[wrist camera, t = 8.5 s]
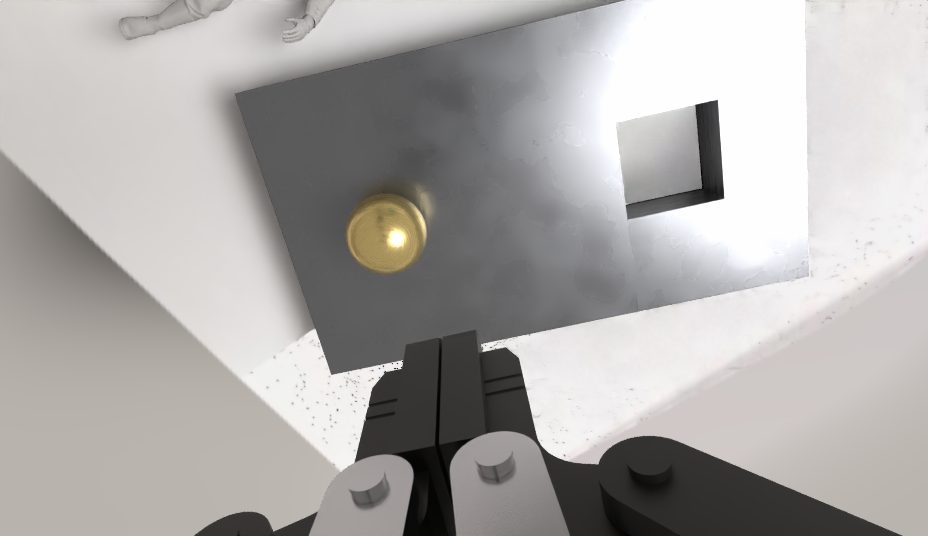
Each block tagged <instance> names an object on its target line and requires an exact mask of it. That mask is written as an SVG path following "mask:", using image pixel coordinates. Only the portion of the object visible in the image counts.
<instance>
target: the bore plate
mask: <svg viewBox="0 0 928 536" xmlns="http://www.w3.org/2000/svg"><path fill="white" fill-rule="evenodd" d="M235 96H236V99H237V102H238V105H239V108H240V111H241V114H242V116H243V119H244V122H245V125H246V128H247V131H248V134H249V137H250V140H251V143H252V145H253V148H254V151H255V154H256V157H257V160H258V163H259V166H260V169H261V172H262V175H263V177H264V180H265V183H266V186H267V189H268V192H269V195H270V198H271V201H272V204H273V206H274V209H275V212H276V215H277V218H278V221H279V224H280V227H281V230H282V233H283V235H284V238H285V241H286V244H287V247H288V250H289V253H290V256H291V259H292V262H293V265H294V267H295V270H296V273H297V276H298V279H299V282H300V285H301V288H302V291H303V294H304V296H305V299H306V302H307V305H308V308H309V311H310V314H311V317H312V320H313V323H314V325H315V328H316V331H317V334H318V337H319V340H320V343H321V346H322V349H323V352H324V355H325V357H326V360H327V363H328V366H329V369H330V372H331V375H333V374H338V373H343V372H347V371H352V370H357V369H362V368H367V367H372V366H376V365H381V364H386V363H391V362H396V361H401V360H404V354H405V347H406V344H410V343H415V342H420V341H424V340H429V339H434V338H439V337H441V339H442V338H443V336H448V335H453V334H458V333H462V332H467V331H472V330H477V332H478V335H479V339H480V343H481V344H483V343H488V342H493V341H498V340H502V339H507V338H512V337H517V336H522V335H527V334H531V333H536V332H541V331H546V330H551V329H556V328H561V327H565V326H570V325H575V324H580V323H585V322H590V321H594V320H599V319H604V318H609V317H614V316H619V315H623V314H628V313H633V312H638V311H643V310H648V309H653V308H657V307H662V306H667V305H672V304H677V303H682V302H686V301H691V300H696V299H701V298H706V297H711V296H716V295H720V294H725V293H730V292H735V291H740V290H745V289H749V288H754V287H759V286H764V285H769V284H774V283H778V282H783V281H788V280H793V279H798V278H803V277H808V276H809V269H808V204H807V139H806V74H805V10H804V0H624V1H620V2H616V3H612V4H608V5H603V6H599V7H595V8H591V9H587V10H583V11H578V12H574V13H570V14H566V15H562V16H557V17H553V18H549V19H545V20H541V21H537V22H532V23H528V24H524V25H520V26H516V27H511V28H507V29H503V30H499V31H495V32H491V33H486V34H482V35H478V36H474V37H470V38H465V39H461V40H457V41H453V42H449V43H445V44H440V45H436V46H432V47H428V48H424V49H419V50H415V51H411V52H407V53H403V54H399V55H394V56H390V57H386V58H382V59H378V60H373V61H369V62H365V63H361V64H357V65H353V66H348V67H344V68H340V69H336V70H332V71H327V72H323V73H319V74H315V75H311V76H307V77H302V78H298V79H294V80H290V81H286V82H281V83H277V84H273V85H269V86H265V87H261V88H256V89H252V90H248V91H244V92H240V93H235ZM691 105H695V106H696V119H697V132H698V144H699V157H700V169H701V182H702V188H700V189H696V190H691V191H686V192H682V193H677V194H673V195H668V196H663V197H659V198H654V199H650V200H645V201H640V202H636V203H631V204H627V205H626V204H625V196H624V188H623V180H622V172H621V165H620V157H619V149H618V141H617V133H616V125H615V123H616V122H620V121H624V120H629V119H633V118H638V117H642V116H646V115H651V114H655V113H660V112H664V111H669V110H673V109H677V108H682V107H686V106H691ZM387 193H388V194H395V195H399V196H401V197H404V198H406V199H407V200H409V201H410V202H412V203H413V204H414V205H415V206H416V207H417V208H418V210H419V211H420V212H421V214H422V216H423V218H424V220H425V223H426V228H427V241H426V245H425V248H424V251H423V253H422V254H421V256H420V258H419V259H418V260H417V261H416V262H415V263H414V264H413V265H412V266H411V267H409V268H408V269H406V270H404V271H402V272H399V273H396V274H386V275H385V274H377V273H374V272H371V271H369V270H367V269H365V268H363V267H362V266H361V265H360V264H358V263H357V262H356V260H355V259H354V258H353V257H352V255H351V253H350V252H349V249H348V247H347V243H346V237H345V229H346V224H347V221H348V218H349V216H350V214H351V212H352V211H353V209H354V208H355V207H356V206H357V205H358V204H359V203H360V202H362V201H363V200H364V199H366V198H368V197H370V196H373V195H376V194H387Z"/></svg>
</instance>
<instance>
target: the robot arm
mask: <svg viewBox="0 0 928 536" xmlns="http://www.w3.org/2000/svg"><path fill="white" fill-rule="evenodd" d="M365 418H366V421H365V422H364V426H363V430H362V434H361V438H360V442H359V446H358V451H357V455H356V459H355V463H354V464H352V465H350V466H348V467H347V468H346V469H344V470H343V471H342V472H340V473H339V474H338V475H337V476H336V478H334V479H333V481H332V482H331V483H330V485H329V486H328V488H327V490H326V492H325V495H324V498H323V500H322V503H321V505H320V508H319V510H318V512H316V513H314V514H312V515H310V516H308V517H306V518H304V519H302V520H299V521H297V522H295V523H292V524H290V525H288V526H286V527H283V528H281V529H279V530H277V531H274V532H273V529H272V527H271V525H270V523H269V521H268V519H267V518H266V517H265V516H263V515H262V514H259V513H256V512H241V513H236V514H232V515H229V516H226V517H224V518H222V519H219V520H217V521H216V522H214V523H212V524H210V525H208V526H207V527H205V528H204V529H202V530H201V531H200V532H198V533H197V534H196V535H195V536H902V535H899V534H897V533H894V532H892V531H890V530H887V529H885V528H883V527H880V526H878V525H875V524H873V523H871V522H868V521H866V520H864V519H861V518H859V517H856V516H854V515H852V514H849V513H847V512H845V511H842V510H840V509H837V508H835V507H833V506H830V505H828V504H825V503H823V502H821V501H818V500H816V499H814V498H811V497H809V496H807V495H804V494H801V493H799V492H797V491H795V490H792V489H790V488H787V487H785V486H783V485H780V484H778V483H776V482H773V481H771V480H768V479H766V478H764V477H761V476H759V475H757V474H754V473H752V472H749V471H747V470H745V469H742V468H740V467H737V466H735V465H733V464H730V463H728V462H725V461H723V460H721V459H718V458H716V457H713V456H711V455H709V454H706V453H704V452H702V451H699V450H697V449H695V448H692V447H689V446H687V445H685V444H683V443H680V442H678V441H675V440H672V439H669V438H663V437H657V436H640V437H634V438H629V439H626V440H624V441H621V442H619V443H617V444H615V445H613V446H612V447H611V448H609V449H608V450H607V451H606V452H605V453H604V454H603V456H602V457H601V459H600V461H599V464H598V465H596V464H581V463H573V462H568V461H564V460H562V459H559V458H557V457H555V456H553V455H551V454H550V453H548V452H547V451H546V450H545V449H544V448H543V447H542V446H541V445H540V443H539V441H538V439H537V436H536V431H535V427H534V423H533V418H532V414H531V409H530V405H529V401H528V396H527V392H526V388H525V383H524V379H523V374H522V370H521V366H520V361H519V358H518V357H517V356H516V355H515V354H513V353H512V352H511V351H510V350H508V349H507V348H506V347H505V348H500V349H495V350H491V351H486V352H482V347H481V343H480V339H479V335H478V332H477V330H472V331H467V332H462V333H458V334H453V335H448V336H443V338H442V339H441V337H439V338H434V339H429V340H424V341H420V342H415V343H410V344H406V347H405V354H404V360H403V366H402V369H399V370H394V371H389V372H385V374H384V375H383V376H382V377H381V378H380V380H379V381H378V382H377V383H376V385H375V386H374V387H373V388H372V392H371V397H370V401H369V407H368V409H367V413H366V417H365Z"/></svg>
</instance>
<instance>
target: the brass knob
mask: <svg viewBox="0 0 928 536" xmlns="http://www.w3.org/2000/svg"><path fill="white" fill-rule="evenodd" d="M345 237H346V243H347V247H348V249H349V252H350V253H351V255H352V257H353V258H354V259H355V260H356V262H357V263H358V264H360V265H361V266H362V267H363V268H365V269H367V270H369V271H371V272H374V273H377V274H385V275H386V274H396V273H399V272H402V271H404V270H406V269H408V268H409V267H411V266H412V265H413V264H414V263H415V262H416V261H417V260H418V259H419V258H420V256H421V254H422V253H423V251H424V248H425V245H426V241H427V228H426V223H425V220H424V218H423V216H422V214H421V212H420V211H419V210H418V208H417V207H416V206H415V205H414V204H413V203H412V202H410V201H409V200H407V199H406V198H404V197H401V196H399V195H395V194H388V193H387V194H376V195H373V196H370V197H368V198H366V199H364V200H363V201H362V202H360V203H359V204H358V205H357V206H356V207H355V208H354V209H353V211H352V212H351V214H350V216H349V218H348V221H347V224H346V229H345Z"/></svg>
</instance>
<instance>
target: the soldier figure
mask: <svg viewBox="0 0 928 536" xmlns="http://www.w3.org/2000/svg"><path fill="white" fill-rule="evenodd" d="M232 1H233V0H177V1H176V2H174V3H173V4H171V5H170V6H169V7H168V8H167V9H165V10H164V11H163V12H162V13H160V14H158V15H155V16H151V17H144V16H143V17H126V18H122V19H120V21H119V26H120V29H121V32H122V34H123V36H124V37H125V39H127V40H131V39H134V38H137V37H140V36H145V35H151V34H155V33H157V32H158V31H159V30H164V29H170V28H172V27H175V26H177V25H181V24H185V23H189V22H193V21H196V20H199V19H201V18H207V17H208V16H209V14H210V13H211V12H213V11H221V10H223V9H225V8H227V7H228V6H229V5H230V3H231V2H232ZM334 1H335V0H308V2H307V5H306V9H305V12H304V15H303V18H302V19H299V18H293V17H290V18H287V19H285V21H292V22H293V23H294V24H295V27H294V28H292V29H291V30H285V31H283V33H284V34H289V35H284V36H283V38H285V39H283V41H285V42H286V43H292V42H296V41H299V40H301V39H303V38H304V37H305V35H306V34H307V33H309V32H310V31H311V30H312V29H313V28H315V27H316V26H317V24H318V23H319V22H320V20H321V18H322V17H323V15H324V14H325V13H326V11H327V10H328V9H329V7H330V6H331V5H332V4H333V2H334ZM290 33H293V34H290Z"/></svg>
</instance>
